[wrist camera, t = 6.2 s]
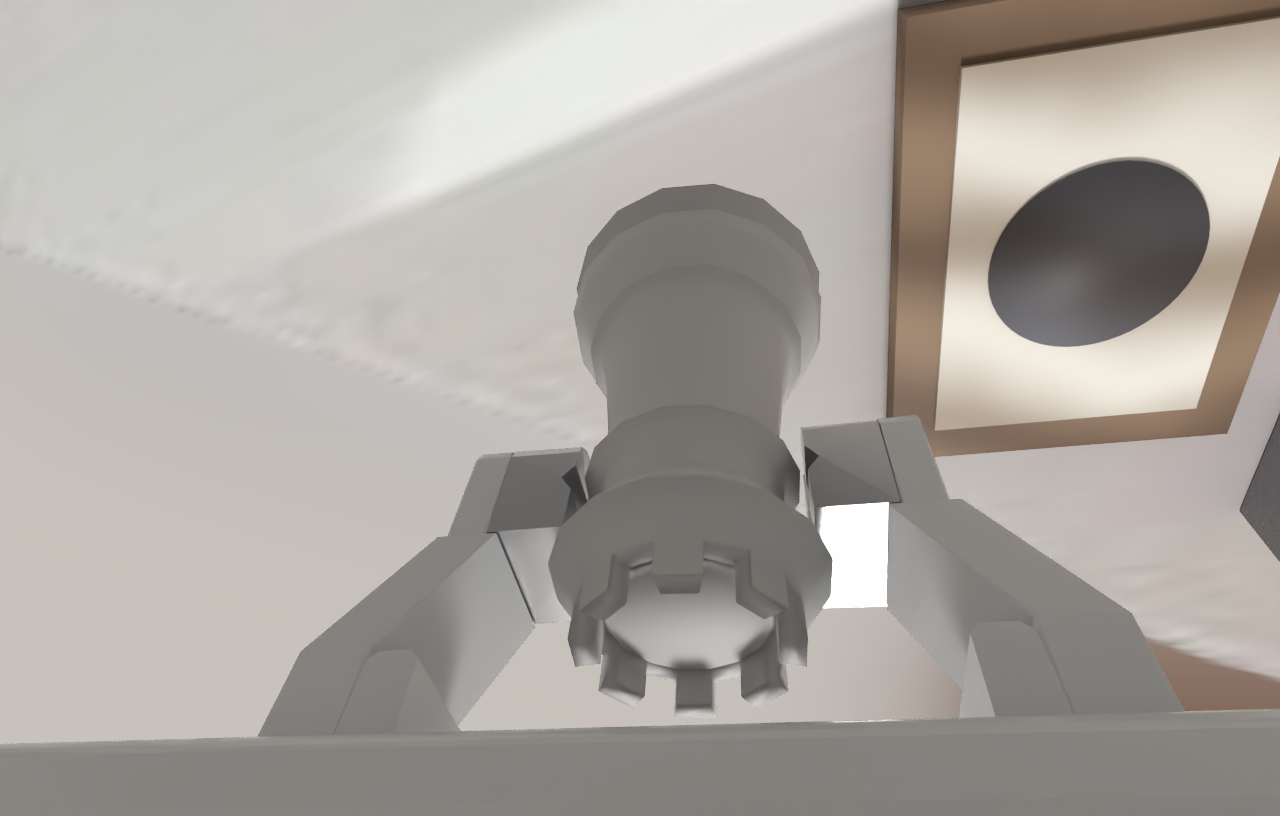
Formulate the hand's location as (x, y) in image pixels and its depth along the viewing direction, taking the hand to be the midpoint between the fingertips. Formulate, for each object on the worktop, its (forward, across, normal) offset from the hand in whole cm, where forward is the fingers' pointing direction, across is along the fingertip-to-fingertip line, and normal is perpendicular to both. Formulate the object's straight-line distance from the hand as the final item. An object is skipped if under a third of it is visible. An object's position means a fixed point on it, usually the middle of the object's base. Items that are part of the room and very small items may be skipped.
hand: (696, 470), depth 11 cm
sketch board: (+16, -12, +6) cm, 21 cm away
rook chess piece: (+5, 0, 0) cm, 5 cm away
